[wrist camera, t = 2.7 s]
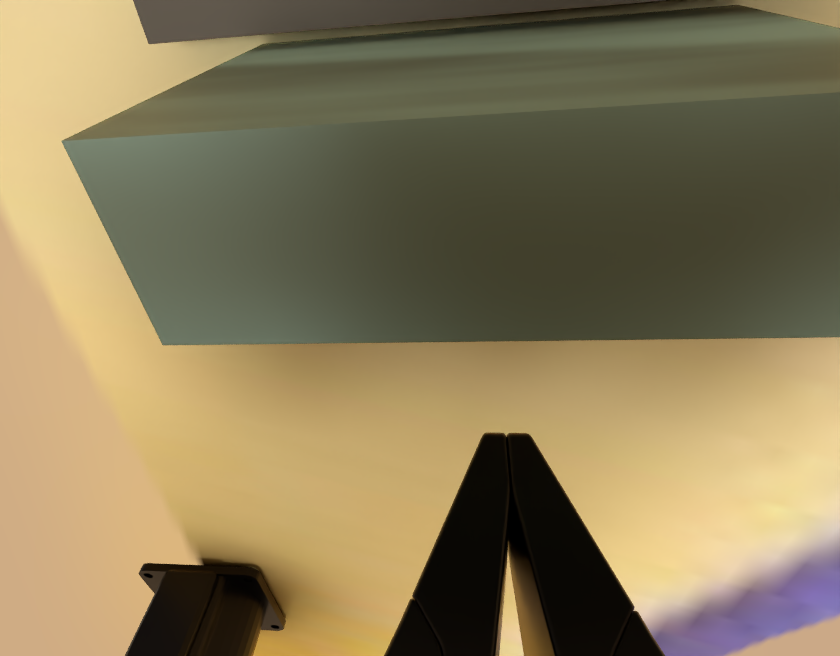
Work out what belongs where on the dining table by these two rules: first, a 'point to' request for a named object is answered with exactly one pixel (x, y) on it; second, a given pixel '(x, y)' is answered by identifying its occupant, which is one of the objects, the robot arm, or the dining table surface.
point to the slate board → (317, 14)
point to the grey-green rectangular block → (488, 185)
